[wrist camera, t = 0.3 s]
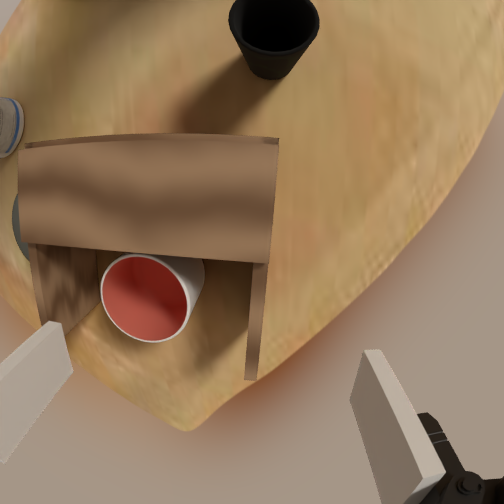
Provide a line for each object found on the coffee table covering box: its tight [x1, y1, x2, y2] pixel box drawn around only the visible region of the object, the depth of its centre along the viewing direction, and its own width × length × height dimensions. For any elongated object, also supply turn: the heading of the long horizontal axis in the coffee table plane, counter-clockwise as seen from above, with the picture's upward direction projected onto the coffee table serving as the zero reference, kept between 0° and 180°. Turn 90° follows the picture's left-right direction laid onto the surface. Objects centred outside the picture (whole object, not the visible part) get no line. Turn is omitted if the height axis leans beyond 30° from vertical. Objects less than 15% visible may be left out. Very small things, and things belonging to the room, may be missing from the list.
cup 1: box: [100, 252, 205, 343], centre depth 35 cm, size 10×10×10 cm
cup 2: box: [228, 0, 319, 80], centre depth 26 cm, size 8×8×12 cm
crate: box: [18, 133, 279, 381], centre depth 32 cm, size 22×24×14 cm
